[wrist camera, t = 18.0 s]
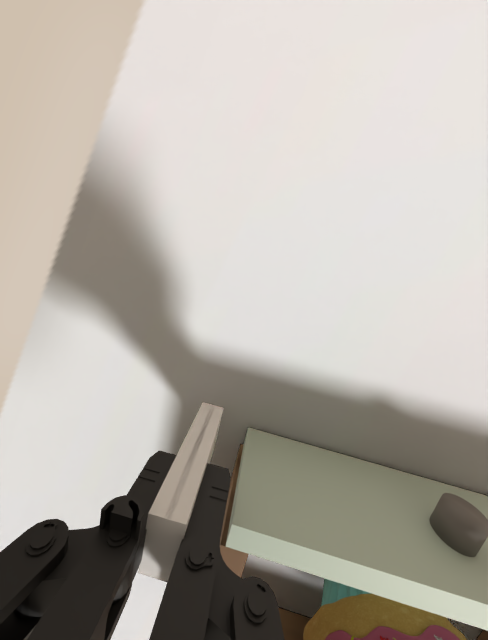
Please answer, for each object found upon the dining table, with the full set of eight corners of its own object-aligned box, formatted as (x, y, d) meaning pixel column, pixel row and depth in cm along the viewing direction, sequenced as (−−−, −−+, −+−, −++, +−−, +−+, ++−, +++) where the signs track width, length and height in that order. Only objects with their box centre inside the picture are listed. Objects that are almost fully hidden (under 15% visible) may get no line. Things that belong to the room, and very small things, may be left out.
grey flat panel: (243, 443, 16) (225, 546, 10) (253, 408, 15) (239, 496, 9) (582, 541, 15) (787, 727, 9) (608, 507, 14) (846, 682, 8)
